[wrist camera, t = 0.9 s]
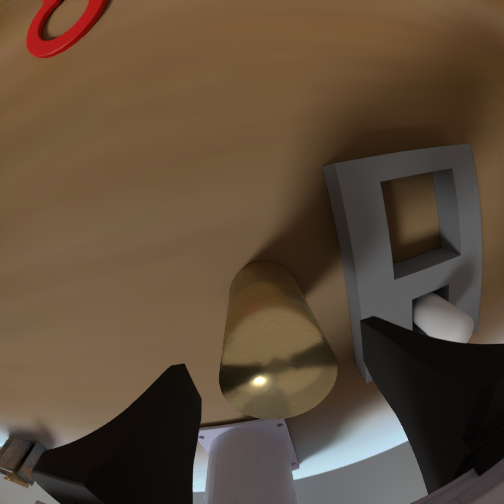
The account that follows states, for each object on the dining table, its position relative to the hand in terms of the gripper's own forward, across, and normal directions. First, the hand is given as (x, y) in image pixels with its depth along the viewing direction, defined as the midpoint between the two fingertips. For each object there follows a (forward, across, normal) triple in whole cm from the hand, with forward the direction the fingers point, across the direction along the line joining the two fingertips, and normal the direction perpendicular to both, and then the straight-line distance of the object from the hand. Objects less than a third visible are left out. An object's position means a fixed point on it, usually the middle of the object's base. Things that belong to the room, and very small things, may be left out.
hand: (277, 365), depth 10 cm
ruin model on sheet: (+9, +41, +18) cm, 45 cm away
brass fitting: (+8, 0, 0) cm, 8 cm away
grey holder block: (+8, -11, +1) cm, 14 cm away
